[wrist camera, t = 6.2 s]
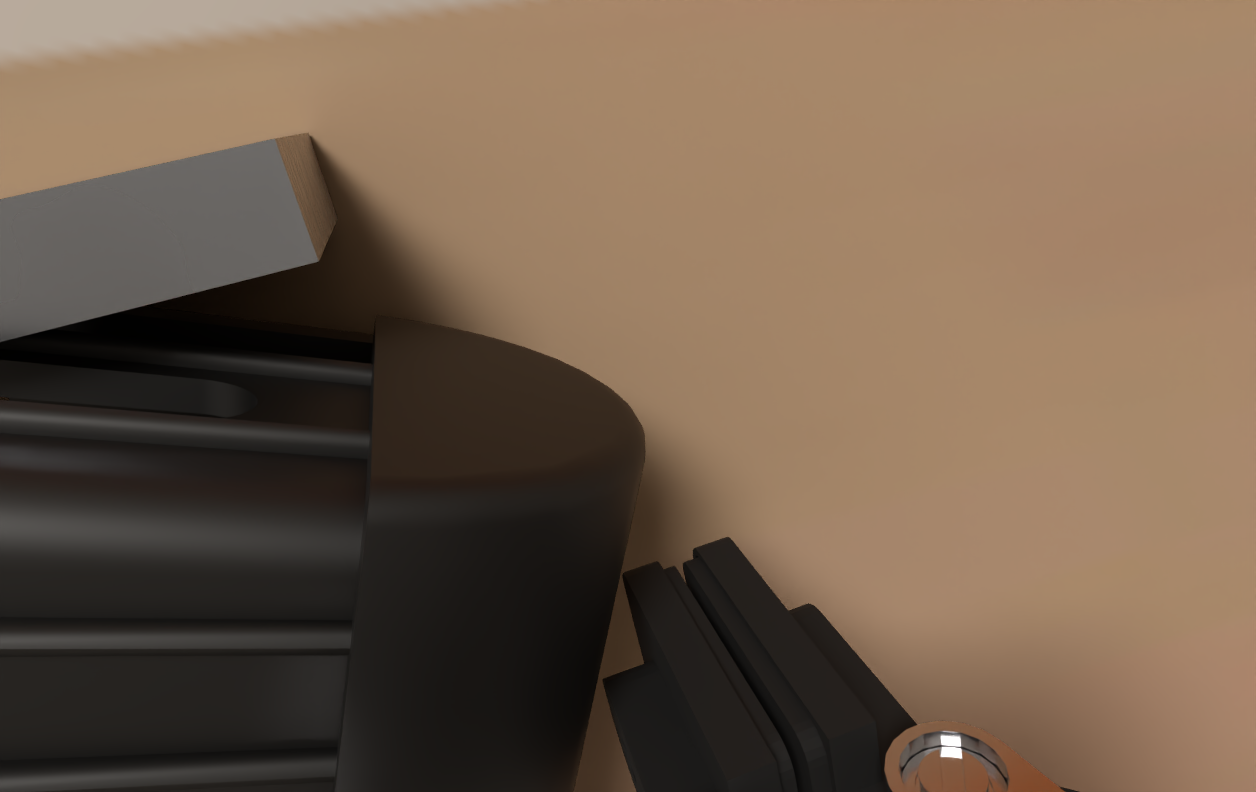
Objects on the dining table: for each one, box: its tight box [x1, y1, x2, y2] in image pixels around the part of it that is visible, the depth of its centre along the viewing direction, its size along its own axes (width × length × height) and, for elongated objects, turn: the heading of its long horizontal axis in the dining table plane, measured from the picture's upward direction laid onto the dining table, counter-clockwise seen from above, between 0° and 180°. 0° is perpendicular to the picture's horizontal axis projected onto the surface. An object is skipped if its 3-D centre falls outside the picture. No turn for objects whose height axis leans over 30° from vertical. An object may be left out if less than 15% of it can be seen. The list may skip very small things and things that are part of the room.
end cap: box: [0, 306, 645, 792], centre depth 10 cm, size 10×7×7 cm
